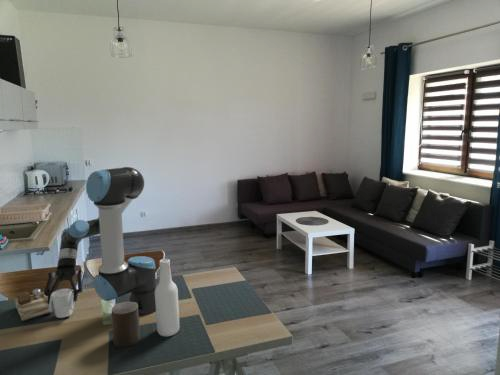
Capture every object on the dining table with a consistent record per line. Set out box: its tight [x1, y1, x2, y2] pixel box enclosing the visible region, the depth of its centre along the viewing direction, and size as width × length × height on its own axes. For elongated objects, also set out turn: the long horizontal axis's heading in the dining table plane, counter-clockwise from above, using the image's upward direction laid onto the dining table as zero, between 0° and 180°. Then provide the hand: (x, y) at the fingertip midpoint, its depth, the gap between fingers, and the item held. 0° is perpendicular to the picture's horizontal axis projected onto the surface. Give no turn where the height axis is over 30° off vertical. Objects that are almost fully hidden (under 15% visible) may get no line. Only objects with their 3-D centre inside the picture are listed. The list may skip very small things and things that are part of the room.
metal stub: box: [32, 288, 42, 300], centre depth 168 cm, size 3×3×4 cm
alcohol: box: [155, 258, 181, 337], centre depth 143 cm, size 9×9×30 cm
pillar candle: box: [111, 301, 141, 348], centre depth 139 cm, size 10×10×15 cm
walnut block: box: [16, 290, 31, 305], centre depth 164 cm, size 4×4×4 cm
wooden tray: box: [14, 291, 55, 322], centre depth 162 cm, size 18×12×4 cm, turn 40°
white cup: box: [51, 288, 74, 319], centre depth 157 cm, size 8×8×10 cm
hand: (61, 310), depth 154 cm, fingers closed on white cup, 8 cm apart
